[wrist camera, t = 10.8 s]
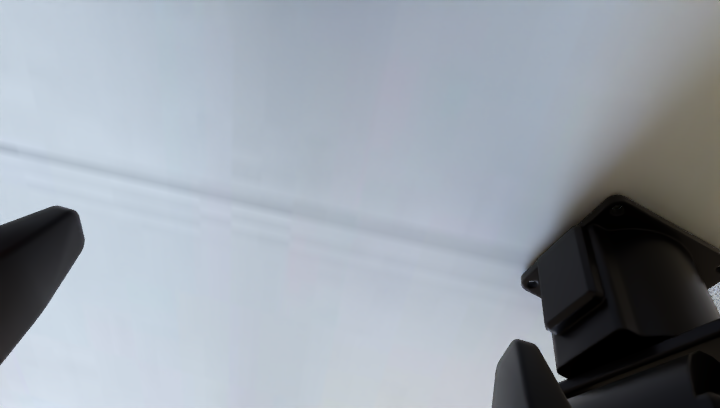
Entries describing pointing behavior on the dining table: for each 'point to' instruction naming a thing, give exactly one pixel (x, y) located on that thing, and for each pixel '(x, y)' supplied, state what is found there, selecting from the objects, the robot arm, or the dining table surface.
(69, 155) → the dining table surface
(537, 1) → the dining table surface
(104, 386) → the dining table surface
